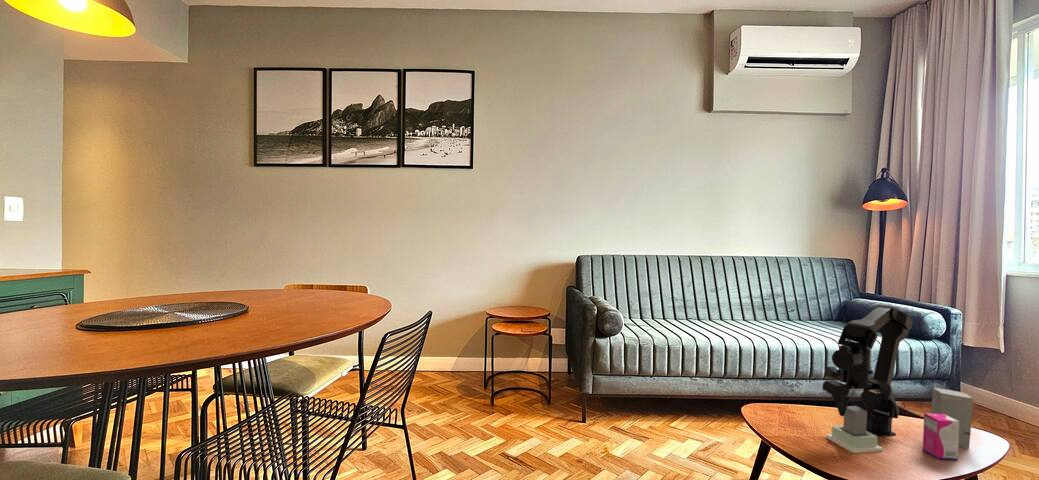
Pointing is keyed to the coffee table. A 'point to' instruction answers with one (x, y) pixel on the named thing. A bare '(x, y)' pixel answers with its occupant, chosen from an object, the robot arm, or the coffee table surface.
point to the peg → (855, 421)
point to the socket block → (854, 441)
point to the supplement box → (941, 436)
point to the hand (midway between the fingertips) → (854, 415)
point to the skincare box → (955, 411)
